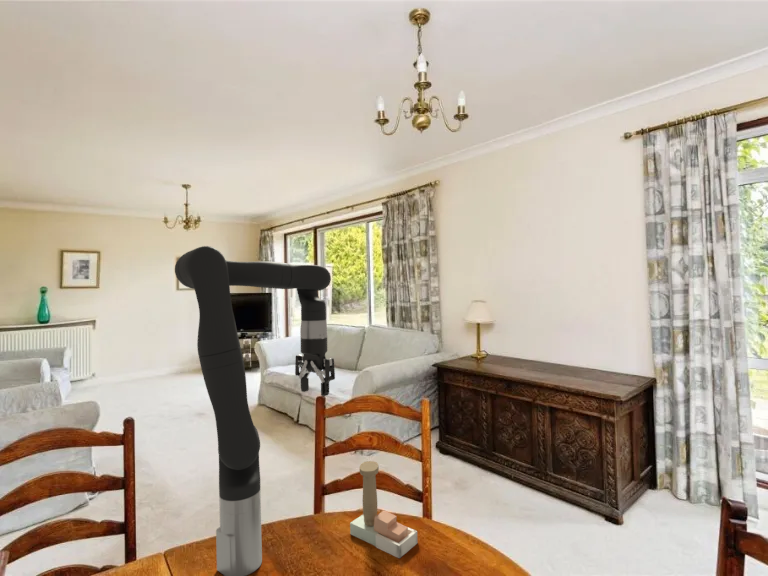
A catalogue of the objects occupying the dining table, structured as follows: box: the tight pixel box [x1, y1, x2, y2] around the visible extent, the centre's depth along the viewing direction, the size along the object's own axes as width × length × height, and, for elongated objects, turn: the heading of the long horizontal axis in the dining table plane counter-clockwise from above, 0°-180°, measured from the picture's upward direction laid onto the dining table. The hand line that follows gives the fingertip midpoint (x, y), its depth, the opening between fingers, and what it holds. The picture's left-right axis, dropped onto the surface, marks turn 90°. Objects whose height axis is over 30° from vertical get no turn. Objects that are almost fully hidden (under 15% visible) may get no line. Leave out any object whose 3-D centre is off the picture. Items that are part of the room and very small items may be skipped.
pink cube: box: [374, 509, 397, 537], centre depth 105 cm, size 4×4×4 cm
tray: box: [375, 527, 418, 559], centre depth 104 cm, size 8×7×3 cm
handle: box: [359, 460, 380, 526], centre depth 109 cm, size 5×6×15 cm
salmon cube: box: [387, 521, 409, 543], centre depth 103 cm, size 4×4×4 cm
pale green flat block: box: [349, 514, 386, 547], centre depth 109 cm, size 6×9×3 cm, turn 51°
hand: (314, 393), depth 117 cm, fingers open, 8 cm apart
